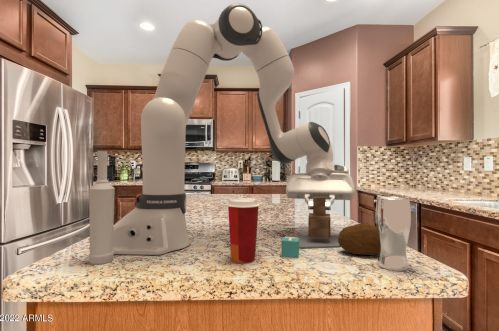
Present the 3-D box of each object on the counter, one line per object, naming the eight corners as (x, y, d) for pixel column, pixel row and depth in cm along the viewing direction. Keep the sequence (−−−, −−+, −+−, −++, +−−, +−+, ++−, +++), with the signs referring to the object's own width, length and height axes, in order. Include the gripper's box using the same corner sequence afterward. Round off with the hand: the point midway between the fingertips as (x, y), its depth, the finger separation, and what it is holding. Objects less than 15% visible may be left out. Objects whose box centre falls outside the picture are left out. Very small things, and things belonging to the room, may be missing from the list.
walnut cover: (308, 236, 82) (308, 197, 82) (309, 232, 88) (309, 195, 88) (330, 238, 81) (330, 198, 81) (329, 233, 87) (329, 196, 87)
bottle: (94, 257, 69) (95, 151, 69) (117, 257, 69) (118, 151, 69) (84, 265, 63) (85, 150, 64) (109, 264, 64) (110, 150, 64)
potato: (335, 248, 78) (335, 219, 78) (383, 250, 77) (383, 220, 77) (341, 257, 70) (341, 225, 70) (395, 259, 69) (395, 227, 69)
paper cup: (263, 256, 70) (263, 198, 71) (253, 266, 63) (253, 202, 63) (233, 253, 73) (233, 197, 73) (220, 262, 66) (220, 200, 66)
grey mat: (299, 248, 77) (299, 247, 77) (286, 237, 89) (286, 236, 89) (355, 246, 80) (355, 245, 80) (336, 236, 92) (336, 235, 92)
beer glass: (417, 272, 60) (417, 199, 60) (383, 271, 61) (383, 199, 61) (400, 261, 67) (401, 196, 67) (370, 261, 67) (370, 196, 68)
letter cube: (281, 257, 70) (281, 239, 70) (283, 252, 74) (283, 236, 74) (298, 258, 69) (298, 241, 69) (299, 253, 73) (299, 237, 73)
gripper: (286, 166, 94) (282, 200, 84) (353, 167, 89) (357, 203, 79) (287, 180, 98) (284, 213, 89) (351, 181, 93) (355, 216, 84)
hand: (319, 208), depth 84 cm, fingers closed on walnut cover, 3 cm apart
